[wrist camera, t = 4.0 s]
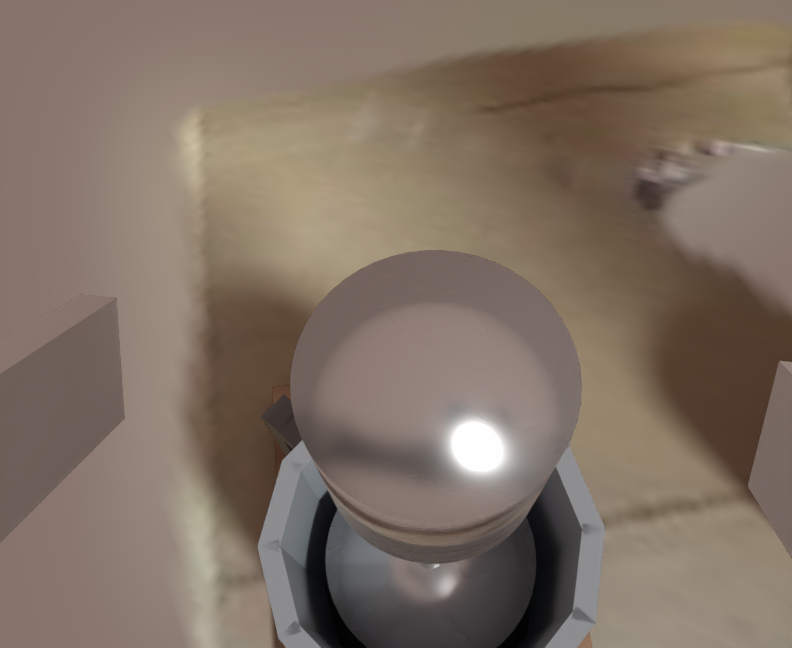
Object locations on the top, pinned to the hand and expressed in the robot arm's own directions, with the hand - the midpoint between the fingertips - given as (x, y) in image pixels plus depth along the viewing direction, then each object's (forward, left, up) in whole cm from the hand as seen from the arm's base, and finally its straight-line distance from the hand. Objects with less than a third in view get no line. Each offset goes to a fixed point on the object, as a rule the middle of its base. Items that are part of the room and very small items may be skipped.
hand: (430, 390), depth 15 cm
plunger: (+1, +1, -15) cm, 15 cm away
